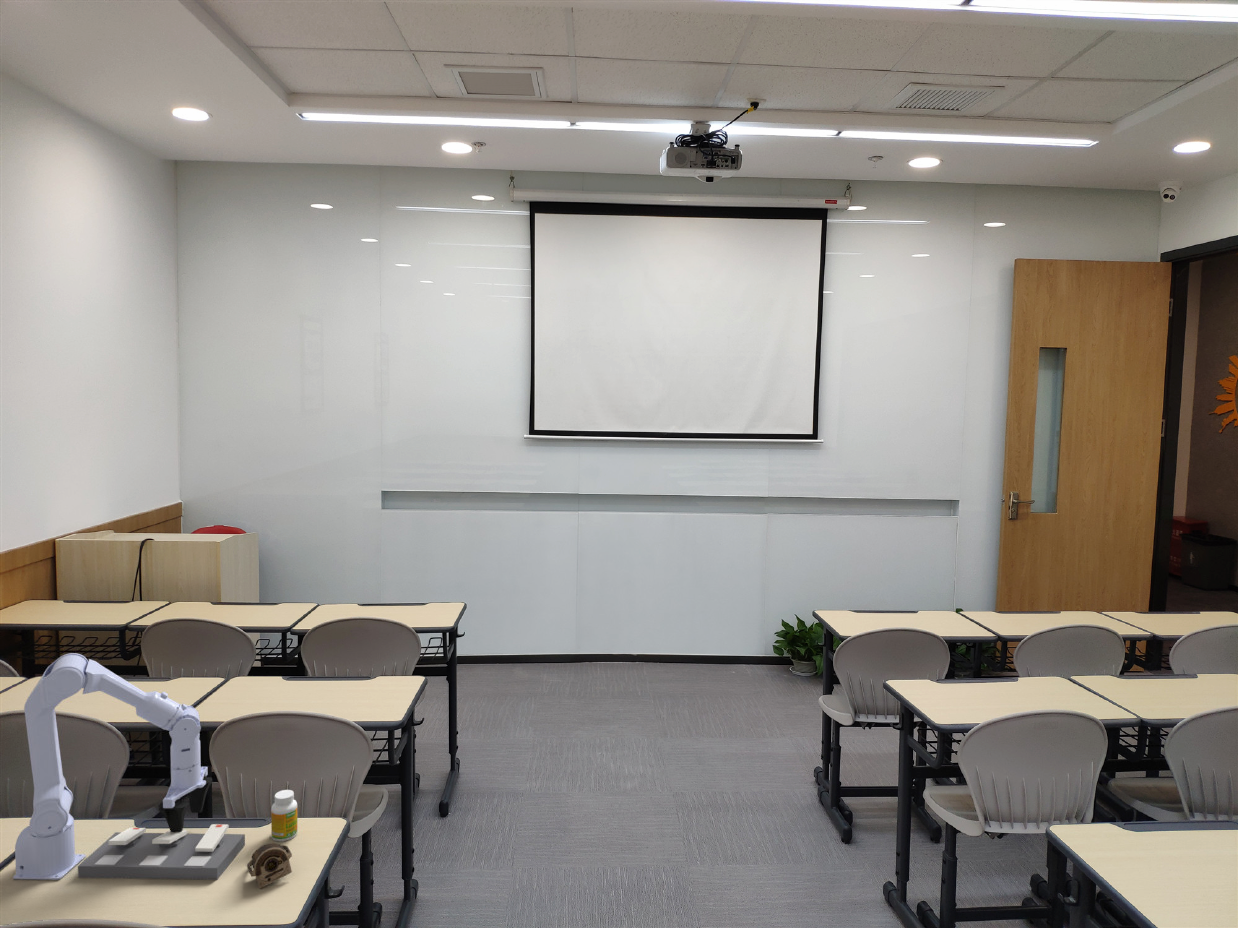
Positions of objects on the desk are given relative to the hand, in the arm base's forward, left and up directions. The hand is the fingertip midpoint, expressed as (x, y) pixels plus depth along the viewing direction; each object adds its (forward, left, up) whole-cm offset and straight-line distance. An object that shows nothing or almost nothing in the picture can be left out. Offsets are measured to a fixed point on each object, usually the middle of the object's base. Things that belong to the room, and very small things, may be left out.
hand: (186, 821), depth 168 cm
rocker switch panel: (0, -9, -4) cm, 9 cm away
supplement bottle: (+21, +1, -4) cm, 21 cm away
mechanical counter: (+23, -11, -4) cm, 26 cm away
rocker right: (+9, -7, 0) cm, 11 cm away
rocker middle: (0, -7, 0) cm, 7 cm away
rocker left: (-9, -7, 0) cm, 11 cm away
